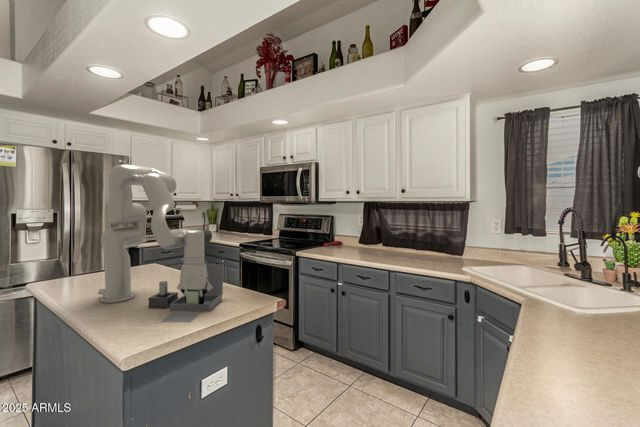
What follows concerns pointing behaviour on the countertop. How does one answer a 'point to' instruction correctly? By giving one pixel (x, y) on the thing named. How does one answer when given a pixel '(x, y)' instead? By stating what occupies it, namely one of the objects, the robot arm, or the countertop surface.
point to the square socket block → (162, 300)
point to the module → (192, 297)
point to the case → (208, 305)
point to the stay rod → (163, 289)
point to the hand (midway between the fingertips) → (194, 304)
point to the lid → (215, 278)
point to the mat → (181, 317)
